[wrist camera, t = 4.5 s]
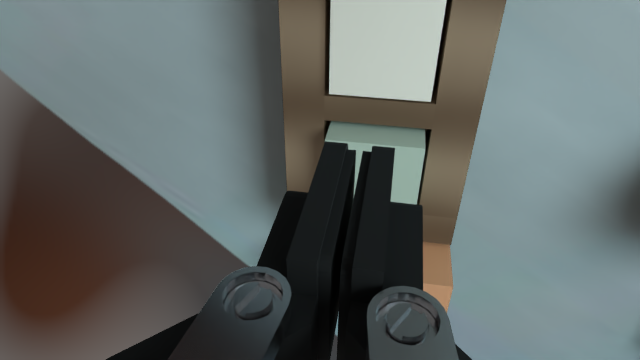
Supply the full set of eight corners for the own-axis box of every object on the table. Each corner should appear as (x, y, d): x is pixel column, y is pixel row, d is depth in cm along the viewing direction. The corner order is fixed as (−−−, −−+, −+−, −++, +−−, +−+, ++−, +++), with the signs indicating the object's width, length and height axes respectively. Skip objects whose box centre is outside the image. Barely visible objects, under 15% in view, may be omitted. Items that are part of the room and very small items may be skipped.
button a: (340, -26, 23) (330, -13, 20) (444, -22, 22) (447, -7, 19) (337, 71, 25) (328, 94, 23) (429, 78, 25) (430, 101, 22)
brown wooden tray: (296, -55, 23) (276, -41, 20) (499, -48, 22) (513, -32, 19) (303, 247, 35) (291, 286, 32) (435, 264, 34) (436, 307, 31)
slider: (400, 222, 30) (398, 279, 26) (448, 228, 29) (453, 287, 25) (396, 258, 32) (392, 316, 28) (440, 264, 31) (444, 324, 27)
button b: (333, 113, 26) (325, 139, 23) (424, 120, 25) (425, 148, 23) (332, 185, 29) (324, 216, 26) (413, 194, 28) (413, 226, 25)
